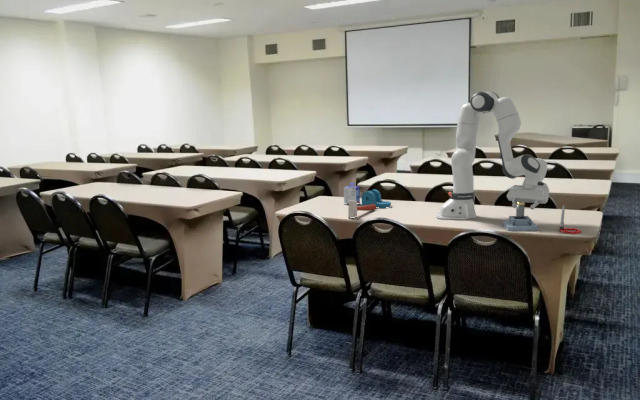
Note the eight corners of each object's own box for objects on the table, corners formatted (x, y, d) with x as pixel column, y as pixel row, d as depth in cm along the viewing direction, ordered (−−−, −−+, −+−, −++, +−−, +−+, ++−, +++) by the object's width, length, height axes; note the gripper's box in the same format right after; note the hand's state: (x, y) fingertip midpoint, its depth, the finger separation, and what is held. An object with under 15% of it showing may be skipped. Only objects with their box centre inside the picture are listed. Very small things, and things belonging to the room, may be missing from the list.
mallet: (372, 199, 328) (348, 200, 303) (377, 200, 326) (353, 200, 301) (371, 216, 329) (347, 218, 304) (376, 216, 327) (352, 218, 302)
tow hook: (579, 230, 251) (558, 229, 253) (581, 204, 248) (560, 203, 251) (582, 235, 243) (560, 233, 246) (584, 208, 240) (562, 207, 243)
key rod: (516, 224, 260) (517, 202, 258) (515, 222, 263) (515, 201, 261) (524, 224, 259) (525, 202, 257) (523, 222, 263) (523, 201, 261)
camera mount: (361, 207, 338) (361, 191, 337) (369, 204, 347) (368, 189, 345) (386, 209, 329) (386, 192, 327) (393, 206, 337) (393, 190, 336)
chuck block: (508, 230, 256) (508, 220, 255) (503, 224, 269) (503, 215, 269) (537, 230, 253) (538, 220, 252) (531, 224, 267) (531, 214, 266)
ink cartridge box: (360, 203, 350) (359, 182, 348) (356, 205, 346) (355, 184, 343) (348, 203, 356) (347, 182, 353) (343, 204, 351) (343, 183, 349)
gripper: (510, 181, 272) (501, 202, 267) (549, 183, 258) (540, 206, 253) (513, 188, 276) (505, 209, 271) (552, 191, 262) (544, 213, 257)
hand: (522, 207), depth 262 cm, fingers open, 8 cm apart
